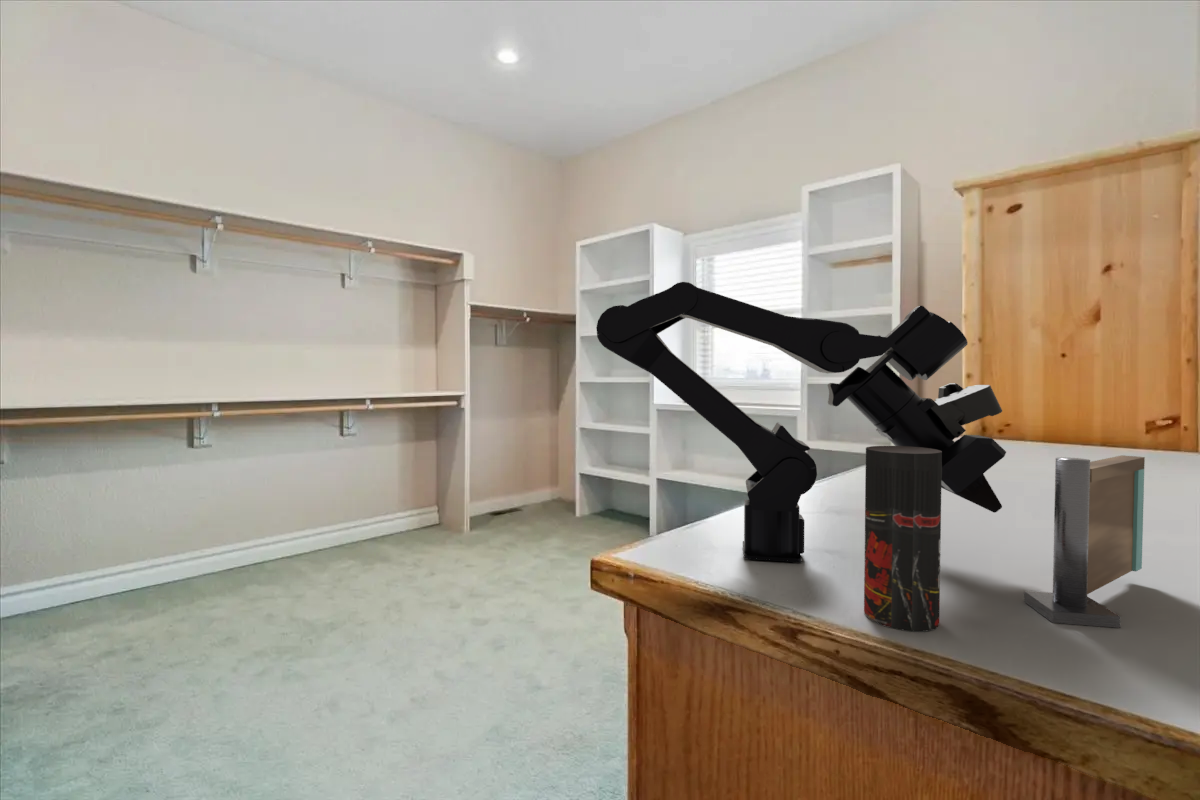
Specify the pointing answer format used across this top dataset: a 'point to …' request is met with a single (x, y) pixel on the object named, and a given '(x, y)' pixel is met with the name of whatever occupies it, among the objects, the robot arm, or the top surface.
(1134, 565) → the gate
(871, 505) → the deodorant
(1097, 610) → the hinge post
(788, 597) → the top surface
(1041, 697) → the top surface
